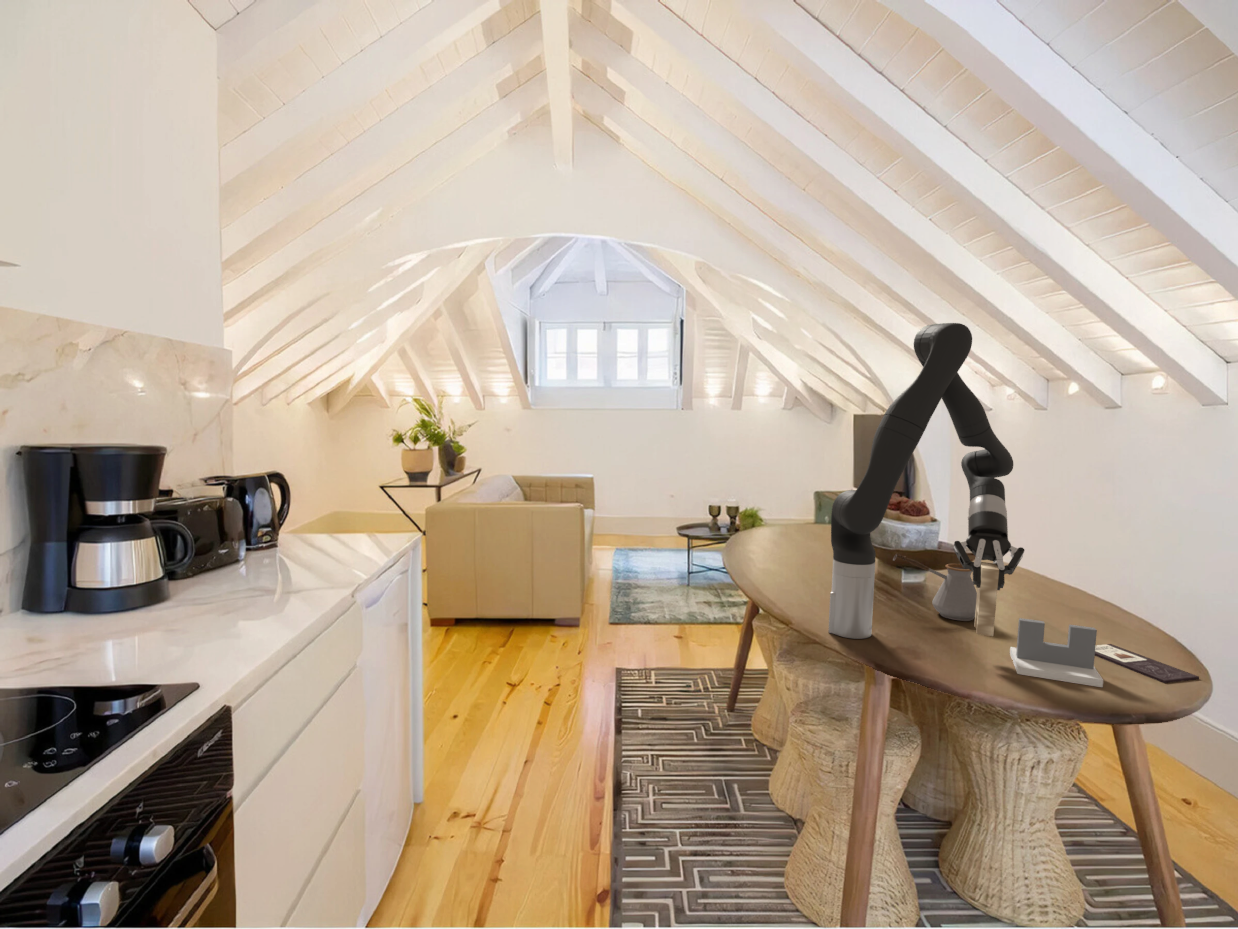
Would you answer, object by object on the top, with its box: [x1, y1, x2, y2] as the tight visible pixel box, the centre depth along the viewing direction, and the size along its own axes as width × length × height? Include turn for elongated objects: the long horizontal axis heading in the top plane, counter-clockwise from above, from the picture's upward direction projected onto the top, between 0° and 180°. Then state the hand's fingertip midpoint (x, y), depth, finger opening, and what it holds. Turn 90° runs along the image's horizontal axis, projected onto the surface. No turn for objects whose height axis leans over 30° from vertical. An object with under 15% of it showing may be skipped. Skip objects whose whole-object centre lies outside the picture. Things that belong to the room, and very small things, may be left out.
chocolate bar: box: [1095, 643, 1200, 684], centre depth 136 cm, size 9×1×18 cm
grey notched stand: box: [1009, 617, 1104, 688], centre depth 132 cm, size 14×12×10 cm
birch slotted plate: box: [973, 561, 999, 637], centre depth 136 cm, size 3×6×14 cm, turn 156°
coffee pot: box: [892, 552, 977, 622], centre depth 166 cm, size 21×12×15 cm, turn 72°
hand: (988, 586), depth 134 cm, fingers closed on birch slotted plate, 3 cm apart
